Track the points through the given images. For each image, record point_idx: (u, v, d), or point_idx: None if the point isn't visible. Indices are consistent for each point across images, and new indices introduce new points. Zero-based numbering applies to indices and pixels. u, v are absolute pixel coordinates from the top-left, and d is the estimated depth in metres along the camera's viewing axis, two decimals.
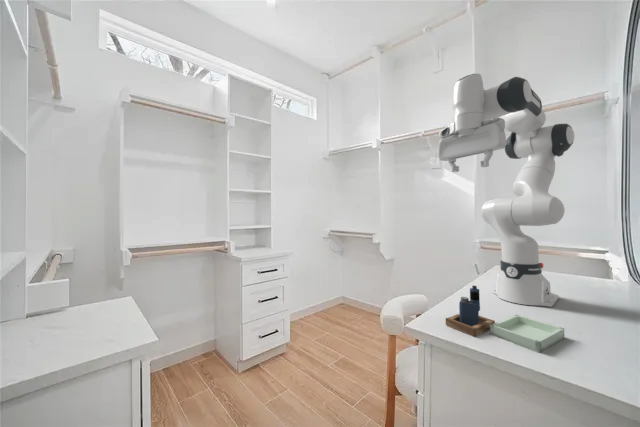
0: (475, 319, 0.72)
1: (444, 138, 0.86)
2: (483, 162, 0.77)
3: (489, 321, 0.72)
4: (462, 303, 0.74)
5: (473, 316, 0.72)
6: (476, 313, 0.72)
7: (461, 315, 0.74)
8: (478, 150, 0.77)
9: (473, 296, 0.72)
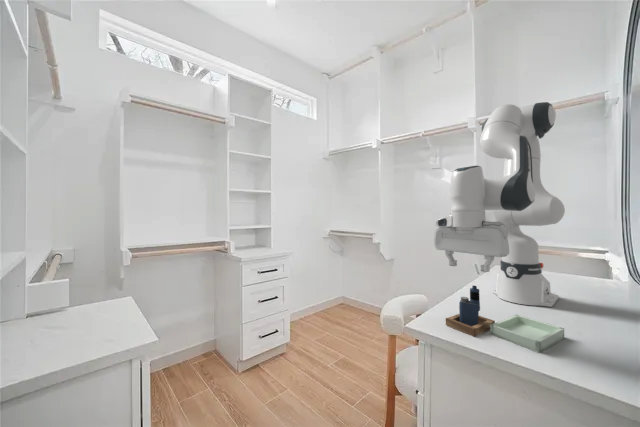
0: (475, 319, 0.72)
1: (441, 228, 0.79)
2: (483, 267, 0.69)
3: (489, 321, 0.72)
4: (462, 303, 0.74)
5: (473, 316, 0.72)
6: (476, 313, 0.72)
7: (461, 315, 0.74)
8: (478, 253, 0.70)
9: (473, 296, 0.72)
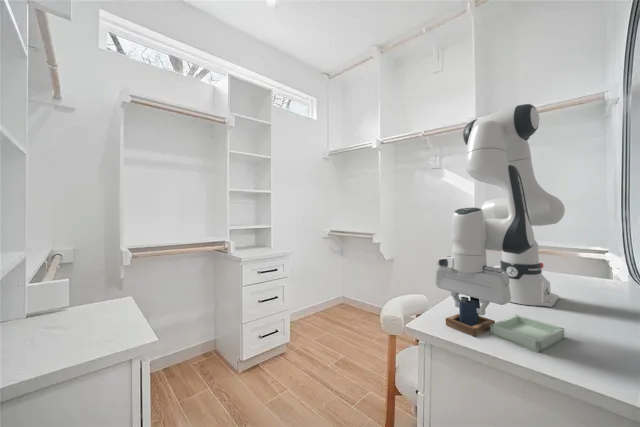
0: (475, 319, 0.72)
1: (442, 268, 0.79)
2: (479, 310, 0.71)
3: (489, 321, 0.72)
4: (462, 303, 0.74)
5: (473, 316, 0.72)
6: (476, 313, 0.72)
7: (461, 315, 0.74)
8: (479, 298, 0.70)
9: None
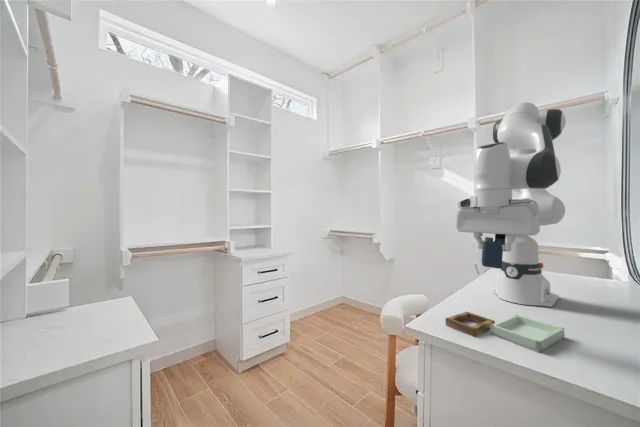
0: (499, 258, 0.70)
1: (464, 209, 0.76)
2: (505, 246, 0.68)
3: (489, 321, 0.72)
4: (486, 243, 0.71)
5: (497, 255, 0.70)
6: (501, 252, 0.69)
7: (484, 255, 0.72)
8: (505, 233, 0.67)
9: (499, 235, 0.69)
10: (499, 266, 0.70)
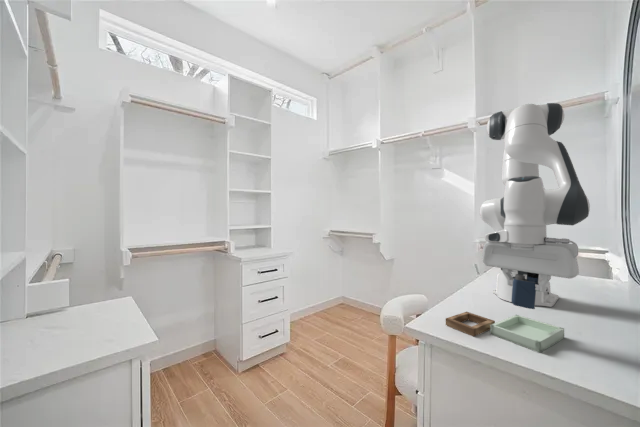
0: (532, 298, 0.66)
1: (492, 243, 0.72)
2: (539, 287, 0.64)
3: (489, 321, 0.72)
4: (517, 281, 0.68)
5: (530, 295, 0.66)
6: (534, 292, 0.66)
7: (515, 293, 0.68)
8: (540, 272, 0.63)
9: (532, 273, 0.66)
10: (532, 306, 0.66)
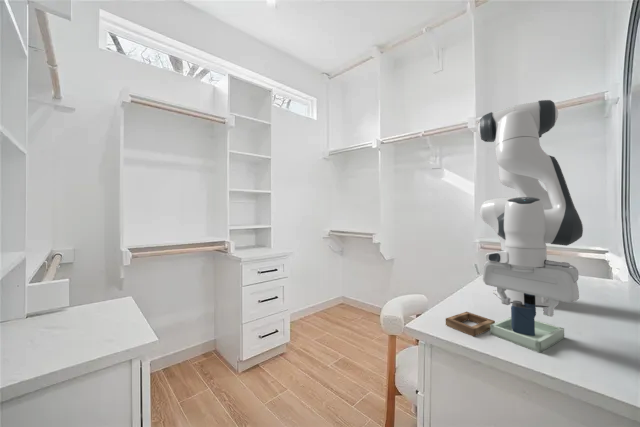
0: (531, 325, 0.66)
1: (492, 263, 0.72)
2: (547, 311, 0.63)
3: (489, 321, 0.72)
4: (516, 308, 0.68)
5: (529, 322, 0.67)
6: (532, 318, 0.66)
7: (515, 320, 0.68)
8: (540, 295, 0.63)
9: (529, 300, 0.67)
10: (532, 333, 0.66)
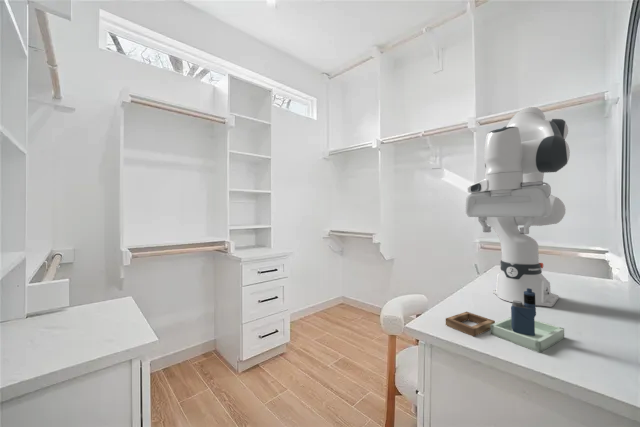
0: (531, 325, 0.66)
1: (474, 194, 0.77)
2: (523, 229, 0.67)
3: (489, 321, 0.72)
4: (516, 308, 0.68)
5: (529, 322, 0.67)
6: (532, 318, 0.66)
7: (515, 320, 0.68)
8: (517, 215, 0.68)
9: (529, 300, 0.67)
10: (532, 333, 0.66)
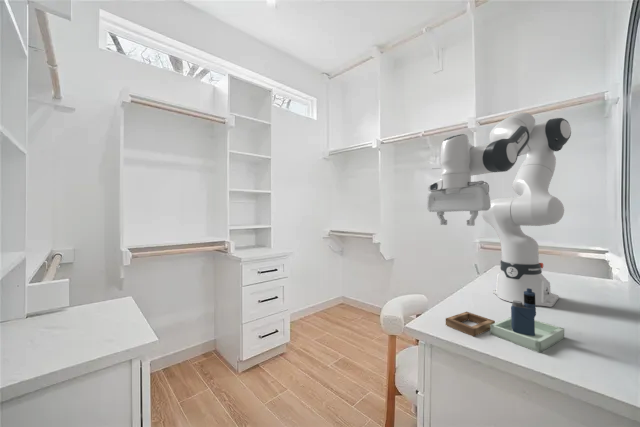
0: (531, 325, 0.66)
1: (433, 192, 0.89)
2: (469, 221, 0.80)
3: (489, 321, 0.72)
4: (516, 308, 0.68)
5: (529, 322, 0.67)
6: (532, 318, 0.66)
7: (515, 320, 0.68)
8: (464, 209, 0.80)
9: (529, 300, 0.67)
10: (532, 333, 0.66)
